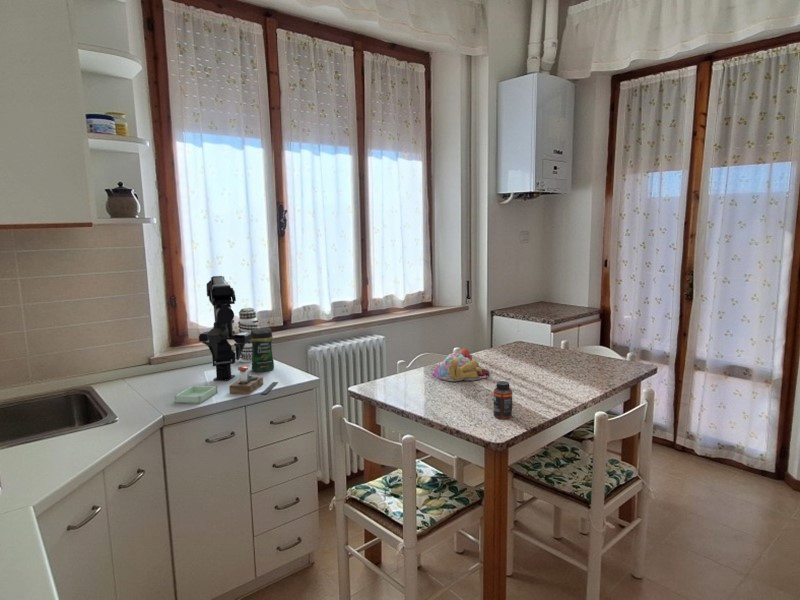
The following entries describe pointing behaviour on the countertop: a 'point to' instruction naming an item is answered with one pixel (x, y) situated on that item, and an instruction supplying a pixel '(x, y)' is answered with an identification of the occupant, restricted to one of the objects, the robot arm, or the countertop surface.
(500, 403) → the supplement bottle
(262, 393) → the strip
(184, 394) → the tray
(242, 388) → the block
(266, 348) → the coffee jar
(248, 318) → the black white patterned bottle
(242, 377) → the lock pin
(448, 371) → the colorful dessert plate
